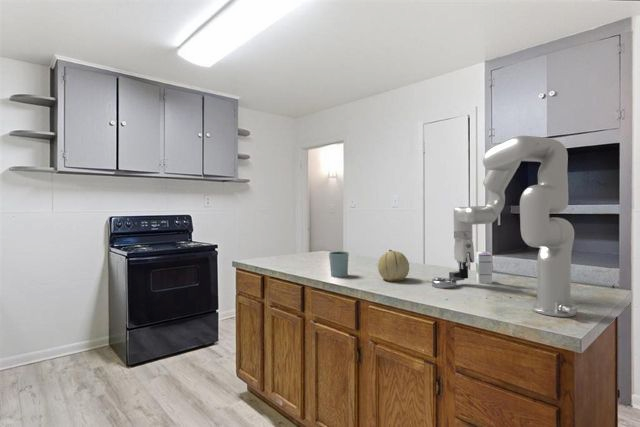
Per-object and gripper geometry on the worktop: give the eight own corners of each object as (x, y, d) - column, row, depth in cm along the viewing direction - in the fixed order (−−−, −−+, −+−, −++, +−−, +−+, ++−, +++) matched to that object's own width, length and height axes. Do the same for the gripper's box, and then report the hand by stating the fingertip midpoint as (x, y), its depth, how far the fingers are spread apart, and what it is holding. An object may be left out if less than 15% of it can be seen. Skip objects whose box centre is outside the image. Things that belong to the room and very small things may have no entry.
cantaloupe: (395, 286, 166) (395, 253, 166) (371, 281, 178) (371, 250, 177) (416, 282, 176) (416, 250, 175) (391, 277, 187) (391, 247, 187)
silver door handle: (443, 289, 155) (443, 270, 155) (427, 285, 164) (427, 267, 164) (473, 285, 162) (473, 267, 162) (456, 281, 171) (456, 264, 171)
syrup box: (492, 286, 166) (492, 253, 165) (478, 285, 167) (478, 253, 166) (489, 283, 171) (489, 251, 171) (475, 283, 172) (475, 251, 172)
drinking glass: (352, 276, 190) (351, 253, 190) (333, 278, 187) (333, 254, 186) (343, 273, 200) (343, 250, 199) (326, 275, 196) (325, 252, 196)
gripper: (479, 236, 155) (480, 281, 155) (463, 234, 169) (464, 274, 170) (462, 237, 154) (462, 281, 154) (447, 234, 169) (448, 275, 169)
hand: (463, 278), depth 162 cm, fingers closed
